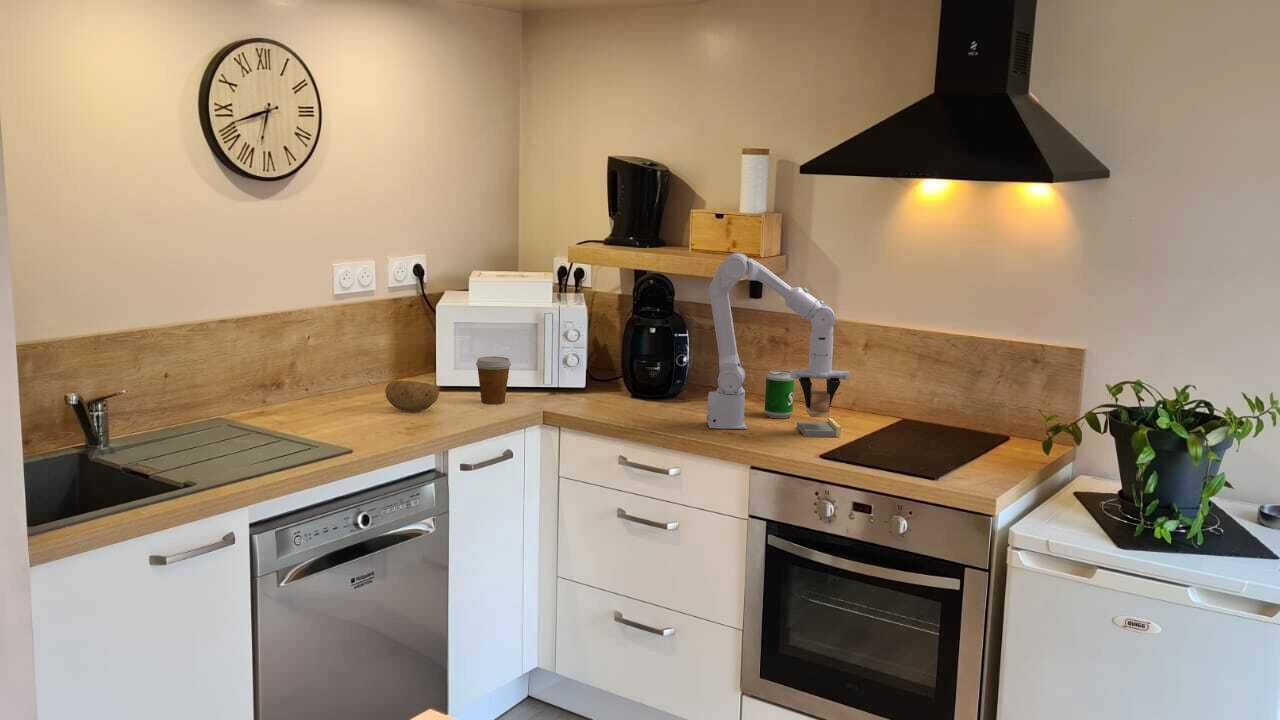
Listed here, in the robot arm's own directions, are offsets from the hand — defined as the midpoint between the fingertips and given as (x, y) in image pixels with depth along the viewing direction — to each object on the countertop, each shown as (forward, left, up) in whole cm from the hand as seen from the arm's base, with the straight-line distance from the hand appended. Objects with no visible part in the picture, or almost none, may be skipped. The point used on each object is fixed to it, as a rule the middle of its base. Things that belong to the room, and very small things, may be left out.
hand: (817, 407), depth 284 cm
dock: (0, 0, -6) cm, 6 cm away
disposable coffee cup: (-84, +28, -7) cm, 88 cm away
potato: (-104, +15, -7) cm, 105 cm away
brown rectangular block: (0, 0, -2) cm, 2 cm away
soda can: (-7, +18, -7) cm, 20 cm away
